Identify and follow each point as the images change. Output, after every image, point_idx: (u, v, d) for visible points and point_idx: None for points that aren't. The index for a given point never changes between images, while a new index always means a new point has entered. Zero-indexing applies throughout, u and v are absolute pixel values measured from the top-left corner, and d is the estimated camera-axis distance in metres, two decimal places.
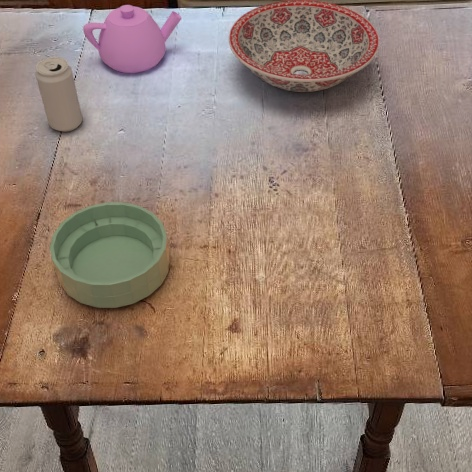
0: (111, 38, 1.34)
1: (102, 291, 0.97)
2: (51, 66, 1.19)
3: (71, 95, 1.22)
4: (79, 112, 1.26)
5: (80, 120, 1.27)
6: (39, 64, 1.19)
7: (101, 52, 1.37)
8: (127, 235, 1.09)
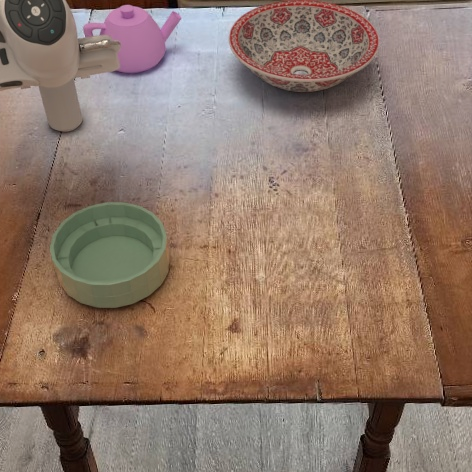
0: None
1: (102, 291, 0.97)
2: None
3: (71, 95, 1.22)
4: (79, 112, 1.26)
5: (80, 120, 1.27)
6: None
7: None
8: (127, 235, 1.09)
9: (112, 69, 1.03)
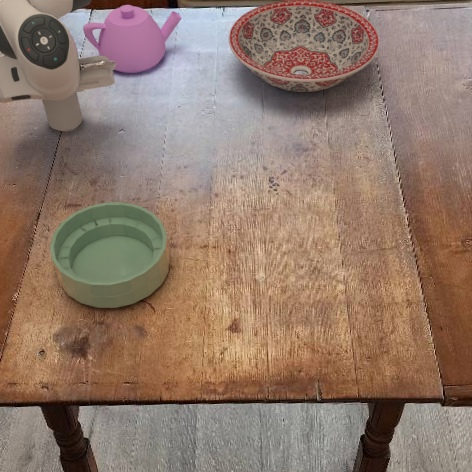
0: (111, 38, 1.34)
1: (102, 291, 0.97)
2: None
3: (71, 95, 1.22)
4: (79, 112, 1.26)
5: (80, 120, 1.27)
6: None
7: (101, 52, 1.37)
8: (127, 235, 1.09)
9: (108, 84, 1.19)
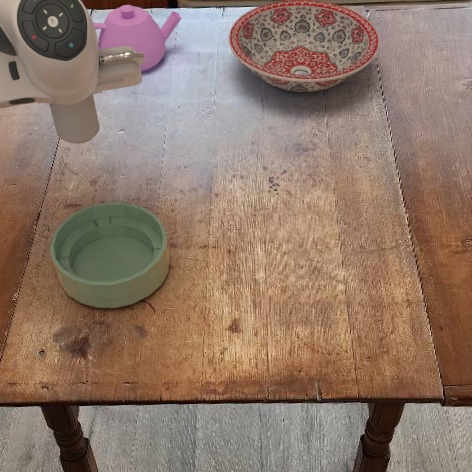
0: (111, 38, 1.34)
1: (102, 291, 0.97)
2: None
3: (86, 98, 0.95)
4: (96, 119, 1.00)
5: (97, 129, 1.01)
6: None
7: None
8: (127, 235, 1.09)
9: (134, 83, 0.93)
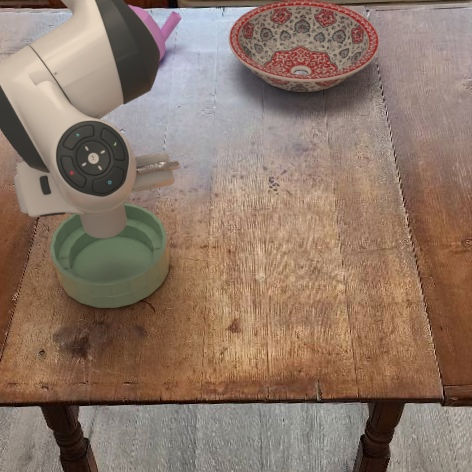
0: None
1: (102, 291, 0.97)
2: None
3: None
4: (124, 214, 0.96)
5: (124, 224, 0.97)
6: None
7: None
8: (127, 235, 1.09)
9: (165, 185, 0.89)
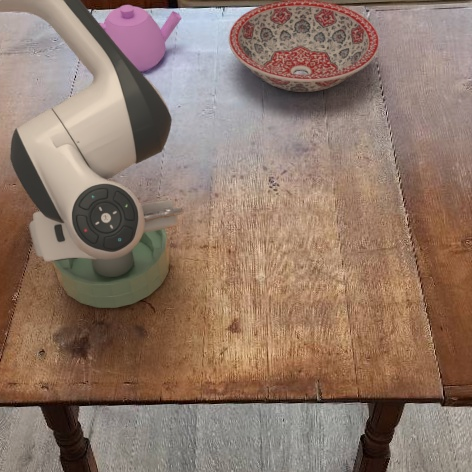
0: (111, 38, 1.34)
1: (102, 291, 0.97)
2: None
3: None
4: (131, 254, 1.03)
5: (132, 263, 1.04)
6: None
7: None
8: None
9: (170, 227, 0.95)
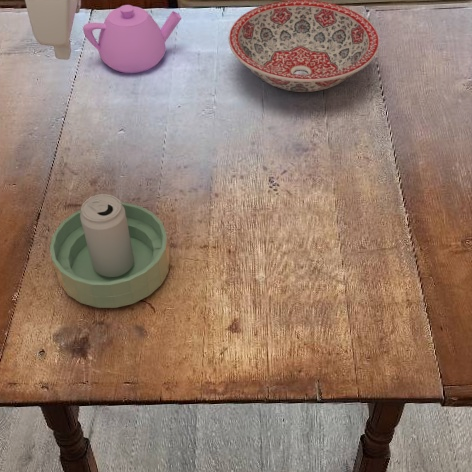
0: (111, 38, 1.34)
1: (102, 291, 0.97)
2: (100, 208, 0.96)
3: (123, 240, 0.98)
4: (131, 254, 1.03)
5: (132, 263, 1.04)
6: (84, 205, 0.96)
7: (101, 52, 1.37)
8: None
9: None
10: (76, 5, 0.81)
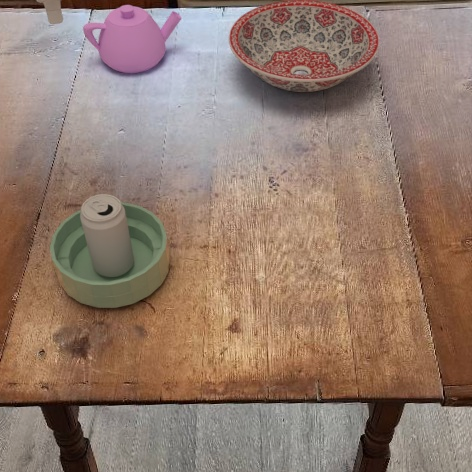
0: (111, 38, 1.34)
1: (102, 291, 0.97)
2: (100, 208, 0.96)
3: (123, 240, 0.98)
4: (131, 254, 1.03)
5: (132, 263, 1.04)
6: (84, 205, 0.96)
7: (101, 52, 1.37)
8: None
9: None
10: None
